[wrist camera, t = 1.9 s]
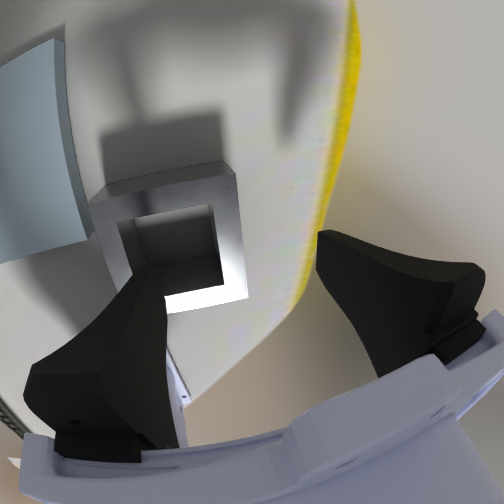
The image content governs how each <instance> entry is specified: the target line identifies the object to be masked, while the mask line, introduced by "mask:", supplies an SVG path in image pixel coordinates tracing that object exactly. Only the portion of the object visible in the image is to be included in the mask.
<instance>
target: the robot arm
mask: <svg viewBox="0 0 504 504" xmlns="http://www.w3.org/2000/svg"><path fill="white" fill-rule="evenodd" d="M316 271H317V273H318V275H319V277H320V279H321V281H322V282H323V284H324V286H325V288H326V289H327V290H328V292H329V293H330V294H331V296H332V297H333V299H334V300H335V301H336V303H337V304H338V305H339V307H340V308H341V309H342V311H343V312H344V313H345V314H346V316H347V317H348V319H349V320H350V322H351V323H352V325H353V326H354V328H355V330H356V332H357V333H358V335H359V337H360V339H361V341H362V343H363V345H364V346H365V349H366V351H367V353H368V355H369V357H370V359H371V362H372V364H373V366H374V369H375V371H376V373H377V376H378V379H376V380H374V381H372V382H369V383H367V384H365V385H363V386H360V387H358V388H356V389H353V390H351V391H349V392H346V393H343V394H341V395H338V396H336V397H333V398H331V399H329V400H327V401H325V402H323V403H320V404H318V405H316V406H314V407H311V408H309V409H308V410H307V411H305V412H304V413H302V414H301V415H299V416H298V417H297V418H295V419H293V420H292V422H291V423H290V425H289V426H288V427H286V428H283V429H279V430H275V431H272V432H268V433H264V434H260V435H256V436H251V437H247V438H242V439H237V440H233V441H227V442H222V443H216V444H210V445H203V446H195V447H188V441H187V435H186V427H185V420H184V412H183V404H188V403H191V397H190V395H189V393H188V391H187V389H186V387H185V385H184V383H183V381H182V379H181V377H180V375H179V373H178V371H177V369H176V367H175V365H174V362H173V360H172V358H171V356H170V354H169V352H168V349H167V308H166V299H165V296H164V293H163V290H162V287H161V284H160V281H159V278H158V274H157V271H156V268H155V265H154V262H152V263H147V264H142V265H140V266H139V267H138V268H137V269H136V270H135V272H134V273H133V274H132V276H131V277H130V278H129V280H128V281H127V282H126V284H125V285H124V286H123V288H122V289H121V290H120V291H119V293H118V294H117V295H116V296H115V297H114V299H113V300H112V301H111V302H110V303H109V305H108V306H107V307H106V308H105V309H104V310H103V311H102V312H101V314H100V315H99V316H98V317H97V318H96V319H95V320H94V321H93V322H91V323H90V324H89V325H88V326H87V327H86V328H85V329H84V330H82V331H81V332H80V333H79V334H78V335H77V336H75V337H74V338H73V339H72V340H70V341H69V342H68V343H66V344H65V345H63V346H62V347H61V348H59V349H58V350H56V351H55V352H53V353H52V354H50V355H48V356H47V357H45V358H43V359H41V360H40V361H38V362H36V363H35V364H33V365H32V366H31V370H30V373H29V376H28V379H27V383H26V386H25V390H24V393H23V397H24V401H25V403H26V404H27V406H28V407H29V409H30V410H31V411H32V412H33V413H34V414H35V415H36V416H37V417H39V418H40V419H41V420H42V421H43V422H44V423H46V424H47V425H48V426H49V427H51V428H52V429H53V430H54V431H56V435H55V439H53V438H51V437H48V436H44V435H38V434H32V433H25V434H24V440H23V447H22V455H21V465H20V478H19V491H20V492H21V493H22V494H24V495H27V496H29V497H31V498H33V499H36V500H38V501H40V502H43V503H45V504H504V495H503V493H502V492H501V490H500V488H499V486H498V484H497V482H496V481H495V479H494V477H493V476H492V474H491V472H490V470H489V469H488V467H487V466H486V464H485V462H484V461H483V459H482V457H481V456H480V454H479V452H478V451H477V449H476V448H475V446H474V445H473V443H472V442H471V440H470V439H469V437H468V435H467V434H466V432H465V431H464V430H463V428H462V427H461V425H460V424H459V422H458V421H457V420H458V419H459V418H460V417H461V416H463V415H464V414H465V413H466V412H467V411H468V410H469V409H470V408H471V407H473V405H475V404H476V403H477V402H478V401H479V400H480V399H481V398H482V397H483V396H484V395H485V394H486V393H487V392H488V391H489V390H490V389H491V388H492V387H493V386H494V385H495V383H497V381H498V380H499V379H500V378H501V377H502V376H503V375H504V317H503V316H502V315H501V314H500V313H499V312H498V311H497V310H496V309H495V310H493V311H492V312H491V313H489V314H488V315H487V316H485V317H484V318H483V319H482V321H481V322H479V321H478V320H477V319H476V318H477V317H478V313H477V312H476V311H475V310H474V308H475V306H476V303H477V301H478V299H479V297H480V295H481V292H482V290H483V287H484V284H485V272H484V270H482V269H481V268H480V267H479V266H478V265H476V264H474V263H467V262H464V263H463V262H445V261H435V260H428V259H422V258H417V257H412V256H408V255H404V254H401V253H396V252H393V251H390V250H387V249H384V248H381V247H378V246H375V245H372V244H370V243H367V242H364V241H362V240H359V239H357V238H354V237H351V236H349V235H346V234H343V233H341V232H337V231H334V230H324V231H318V239H317V259H316Z"/></svg>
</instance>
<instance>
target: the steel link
mask: <svg viewBox="0 0 504 504" xmlns="http://www.w3.org/2000/svg"><path fill="white" fill-rule="evenodd" d="M204 204H209V211H210V218H211V224H212V231H213V237H214V243H215V250H216V254H212V255H207V256H201V257H196V258H191V259H186V260H181V261H175V262H170V263H165V264H160V265H155V268H156V271H157V274H158V278H159V281H160V284H161V287H162V290H163V293H164V296H165V299H166V308H167V314H168V313H173V312H179V311H184V310H190V309H195V308H200V307H205V306H210V305H215V304H220V303H225V302H230V301H235V300H240V299H244V298H249V296H248V287H247V278H246V269H245V260H244V250H243V241H242V231H241V222H240V212H239V202H238V192H237V183H236V173H235V172H234V171H233V170H232V169H231V168H230V167H229V166H228V165H227V164H226V163H225V162H224V161H221V162H214V163H208V164H202V165H196V166H190V167H184V168H179V169H174V170H168V171H163V172H159V173H154V174H149V175H145V176H140V177H136V178H131V179H127V180H123V181H119V182H115V183H111V184H107V185H105V186H104V187H103V188H102V189H101V190H100V191H99V192H98V193H97V194H96V195H95V196H94V197H93V198H92V199H91V201H90V202H89V203H88V204H87V206H88V209H89V213H90V216H91V220H92V223H93V226H94V229H95V232H96V236H97V239H98V242H99V245H100V248H101V250H102V253H103V256H104V259H105V262H106V264H107V267H108V270H109V272H110V275H111V277H112V280H113V282H114V285H115V287H116V290H117V292H118V293H119V291H120V290H121V289H122V288H123V286H124V285H125V284H126V282H127V281H128V280H129V278H130V277H131V276H132V274H133V273H134V272H135V270H136V269H137V268H138V267H139V266H140V265H142V264H146V262H145V258H144V255H143V252H142V248H141V245H140V241H139V238H138V234H137V230H136V227H135V223H134V219H133V218H138V217H143V216H147V215H152V214H157V213H162V212H167V211H172V210H177V209H182V208H187V207H193V206H198V205H204Z"/></svg>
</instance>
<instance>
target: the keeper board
mask: <svg viewBox="0 0 504 504" xmlns="http://www.w3.org/2000/svg"><path fill="white" fill-rule="evenodd" d="M93 231H94V227H93V224H92V220H91V217H90V213H89V210H88V206H87V203H86V199H85V195H84V191H83V187H82V183H81V179H80V175H79V170H78V166H77V161H76V156H75V151H74V145H73V140H72V134H71V127H70V120H69V113H68V104H67V94H66V81H65V58H64V42H62V41H60V40H58V39H56V38H52V39H50V40H48V41H46V42H44V43H42V44H40V45H38V46H36V47H34V48H32V49H30V50H29V51H27V52H25V53H23V54H21V55H20V56H18V57H16V58H15V59H13V60H11V61H10V62H8V63H6V64H5V65H3V66H2V67H0V264H1V263H4V262H7V261H11V260H14V259H18V258H21V257H25V256H28V255H32V254H35V253H39V252H43V251H46V250H50V249H54V248H58V247H62V246H66V245H69V244H73V243H77V242H82V241H86V240H88V239H89V237H90V235H91V234H92V232H93Z"/></svg>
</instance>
